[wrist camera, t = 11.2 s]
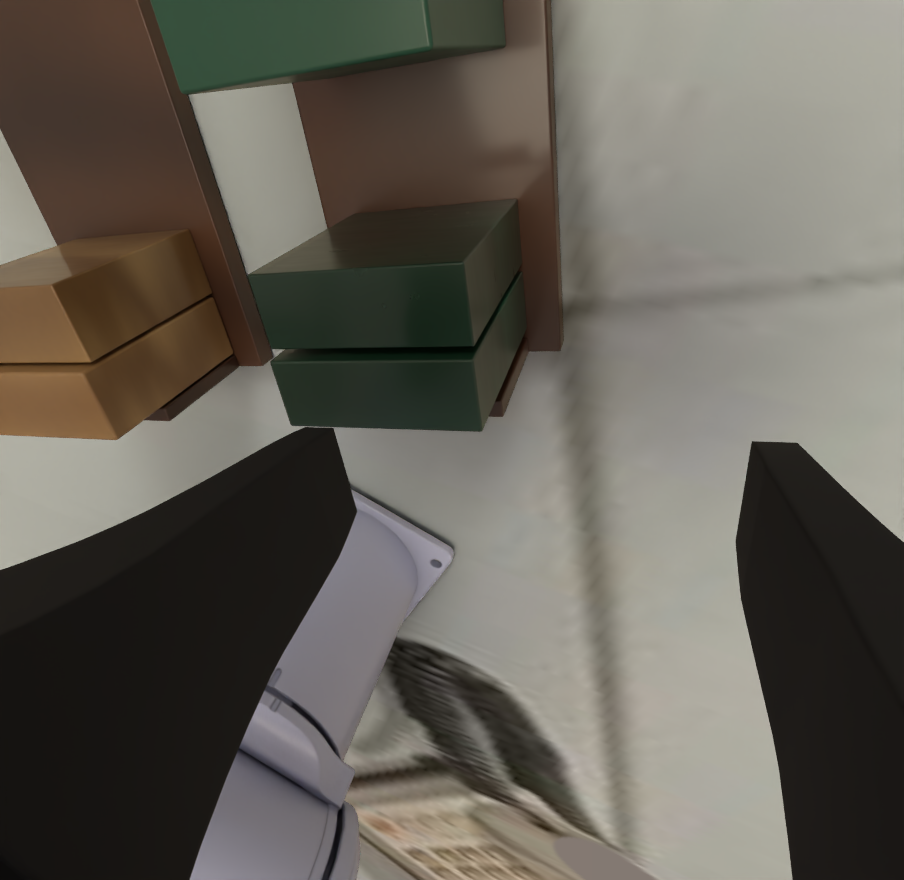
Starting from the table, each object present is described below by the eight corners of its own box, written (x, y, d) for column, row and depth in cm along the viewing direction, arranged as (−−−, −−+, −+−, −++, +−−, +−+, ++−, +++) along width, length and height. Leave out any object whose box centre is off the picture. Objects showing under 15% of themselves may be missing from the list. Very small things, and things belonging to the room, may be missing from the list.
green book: (506, 47, 14) (433, 50, 9) (323, 79, 16) (179, 95, 11) (499, -47, 13) (413, -99, 8) (305, -4, 15) (139, -27, 10)
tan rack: (273, 357, 22) (152, 458, 17) (130, 358, 24) (-19, 449, 19) (63, -286, 14) (-327, -504, 8) (-132, -197, 16) (-543, -322, 10)
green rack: (564, 341, 19) (528, 463, 13) (366, 344, 21) (266, 450, 15) (533, -486, 10) (403, -1071, 5) (207, -339, 12) (-135, -634, 7)
